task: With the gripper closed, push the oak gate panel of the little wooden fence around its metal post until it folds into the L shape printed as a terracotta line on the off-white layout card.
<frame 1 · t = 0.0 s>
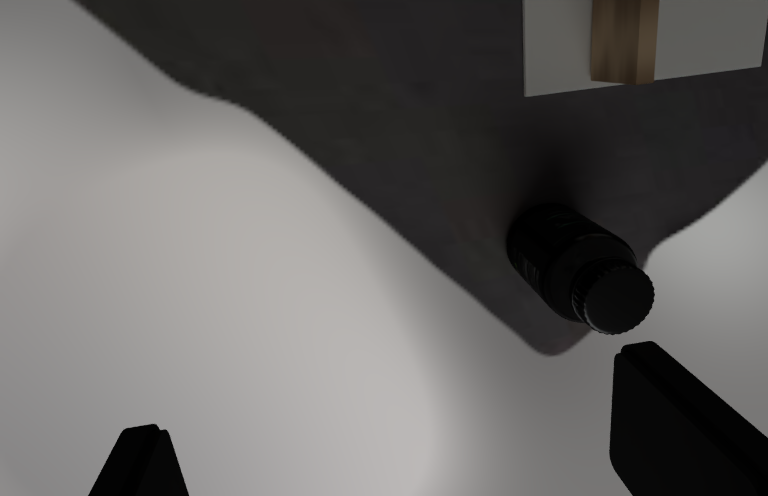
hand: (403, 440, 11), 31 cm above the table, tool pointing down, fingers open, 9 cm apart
supplement bottle: (542, 239, 44), on the table
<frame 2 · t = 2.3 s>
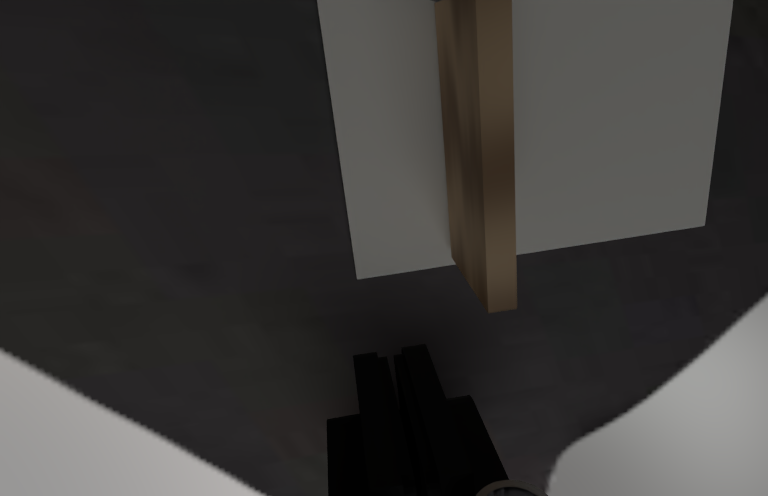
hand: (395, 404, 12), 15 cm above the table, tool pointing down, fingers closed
gate panel: (474, 152, 22), point 4 cm above the table, hinge at 0.0°
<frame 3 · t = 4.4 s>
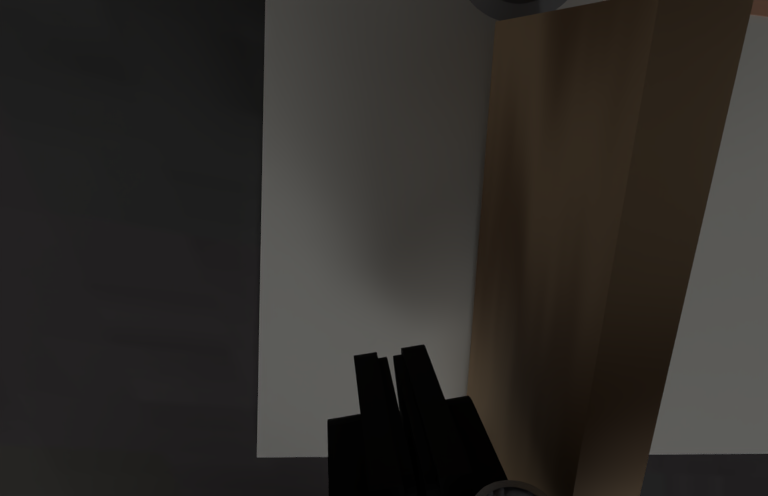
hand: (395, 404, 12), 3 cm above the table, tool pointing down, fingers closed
gate panel: (545, 320, 11), point 4 cm above the table, hinge at 5.1°, touching gripper
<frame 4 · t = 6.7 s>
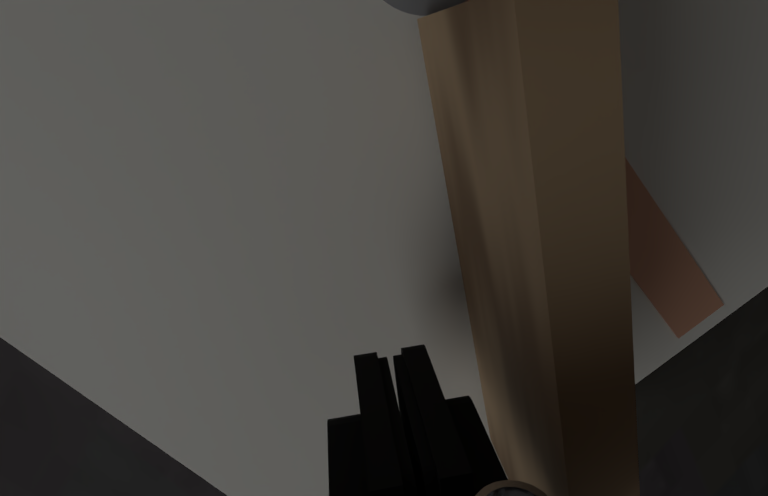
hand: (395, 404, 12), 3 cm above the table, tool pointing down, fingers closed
gate panel: (524, 310, 11), point 4 cm above the table, hinge at 61.3°, touching gripper
layout card: (524, 80, 13), on the table
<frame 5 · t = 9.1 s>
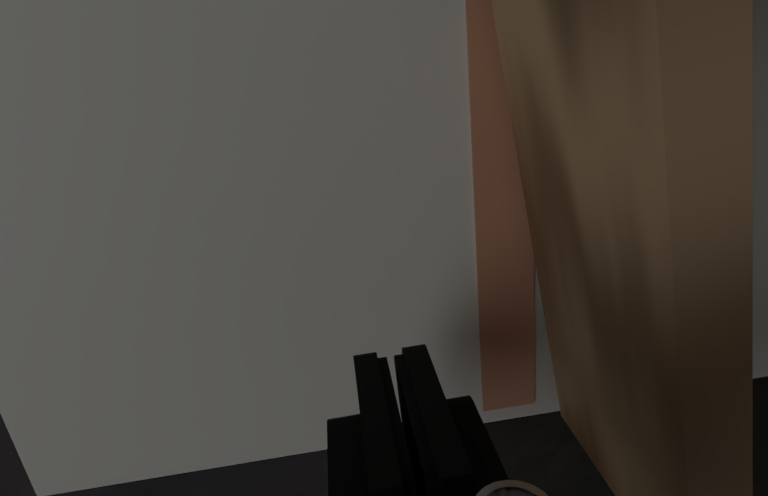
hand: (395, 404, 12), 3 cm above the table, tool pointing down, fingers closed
gate panel: (613, 277, 11), point 4 cm above the table, hinge at 99.0°
layout card: (496, 100, 13), on the table
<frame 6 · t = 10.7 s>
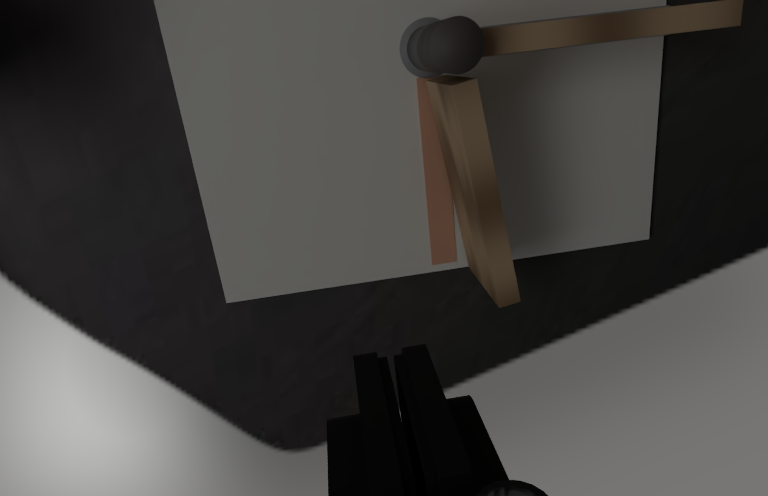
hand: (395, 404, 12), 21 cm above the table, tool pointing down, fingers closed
gate panel: (472, 188, 29), point 4 cm above the table, hinge at 99.0°
layout card: (431, 120, 31), on the table
fence: (426, 48, 30), resting on layout card
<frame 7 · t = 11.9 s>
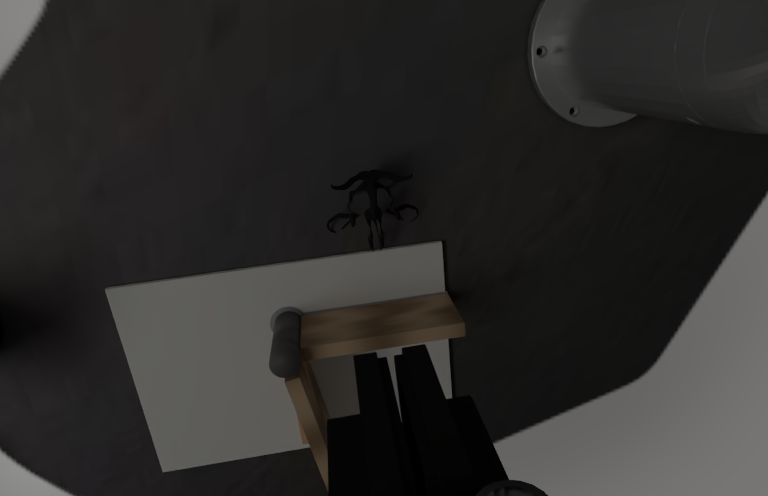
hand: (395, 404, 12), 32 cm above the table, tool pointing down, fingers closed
creature: (371, 207, 44), on the table
gate panel: (314, 415, 45), point 4 cm above the table, hinge at 99.0°
layout card: (296, 359, 47), on the table
fence: (289, 321, 46), resting on layout card
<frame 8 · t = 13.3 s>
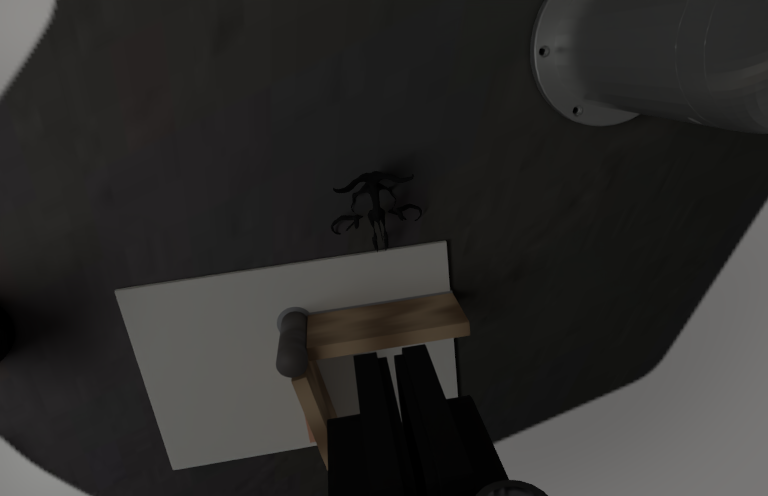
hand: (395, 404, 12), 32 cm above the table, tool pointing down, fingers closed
creature: (374, 208, 44), on the table
gate panel: (321, 414, 46), point 4 cm above the table, hinge at 99.0°
layout card: (303, 359, 48), on the table
fence: (295, 321, 46), resting on layout card
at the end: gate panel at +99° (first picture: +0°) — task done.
